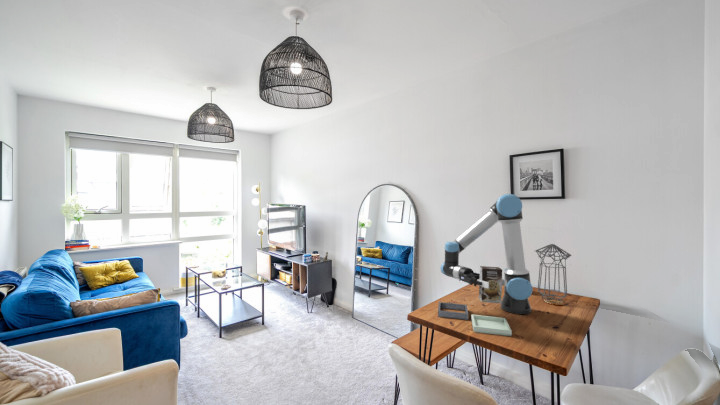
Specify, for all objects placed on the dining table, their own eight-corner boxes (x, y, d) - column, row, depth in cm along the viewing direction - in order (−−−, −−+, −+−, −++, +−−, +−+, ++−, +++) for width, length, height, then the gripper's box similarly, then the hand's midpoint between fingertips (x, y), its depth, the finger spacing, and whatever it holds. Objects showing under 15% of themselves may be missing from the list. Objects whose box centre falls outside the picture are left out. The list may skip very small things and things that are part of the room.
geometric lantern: (558, 297, 198) (559, 242, 198) (572, 305, 182) (573, 246, 182) (532, 296, 199) (533, 242, 199) (544, 304, 184) (545, 245, 184)
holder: (466, 310, 172) (466, 304, 172) (468, 319, 157) (468, 314, 157) (438, 307, 176) (438, 302, 176) (437, 316, 161) (438, 310, 161)
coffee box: (481, 302, 146) (482, 268, 146) (478, 298, 152) (479, 265, 152) (502, 303, 145) (502, 269, 144) (498, 299, 151) (498, 266, 151)
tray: (505, 323, 154) (505, 318, 154) (511, 336, 139) (511, 330, 139) (471, 319, 158) (471, 314, 158) (473, 331, 143) (473, 326, 143)
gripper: (479, 279, 170) (514, 289, 149) (446, 283, 160) (478, 295, 140) (480, 265, 170) (514, 274, 149) (446, 268, 160) (478, 278, 140)
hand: (497, 284), depth 145 cm, fingers closed on coffee box, 10 cm apart
